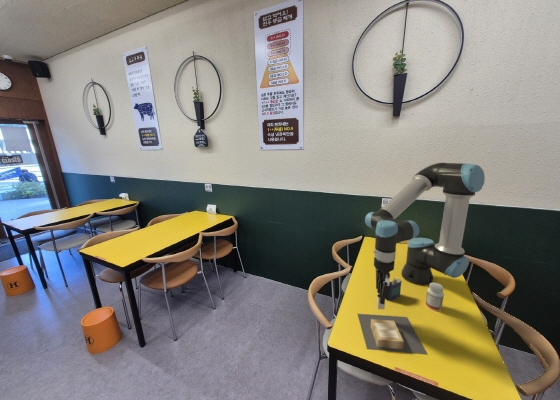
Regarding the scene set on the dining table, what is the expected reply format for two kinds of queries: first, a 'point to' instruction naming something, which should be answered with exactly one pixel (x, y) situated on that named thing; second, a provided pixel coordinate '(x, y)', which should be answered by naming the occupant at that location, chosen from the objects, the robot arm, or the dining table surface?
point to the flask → (394, 289)
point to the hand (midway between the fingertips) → (380, 308)
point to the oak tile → (386, 334)
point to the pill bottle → (434, 297)
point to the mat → (405, 330)
